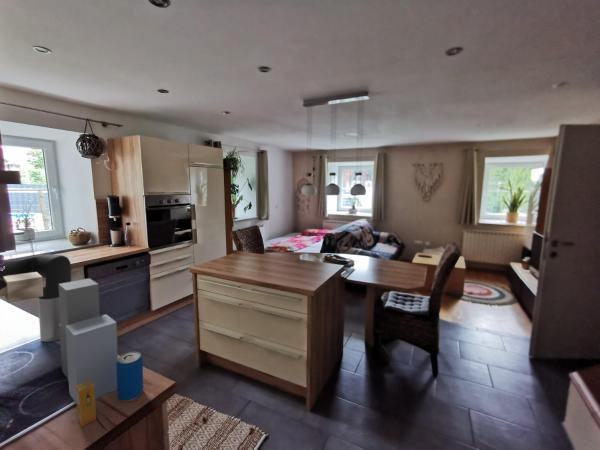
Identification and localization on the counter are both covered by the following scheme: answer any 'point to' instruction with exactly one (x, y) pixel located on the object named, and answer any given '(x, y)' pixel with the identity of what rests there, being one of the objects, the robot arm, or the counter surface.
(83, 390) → the supplement box
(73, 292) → the tall tower
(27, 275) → the mallet
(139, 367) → the beverage can
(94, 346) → the grey tall block
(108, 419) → the counter surface
